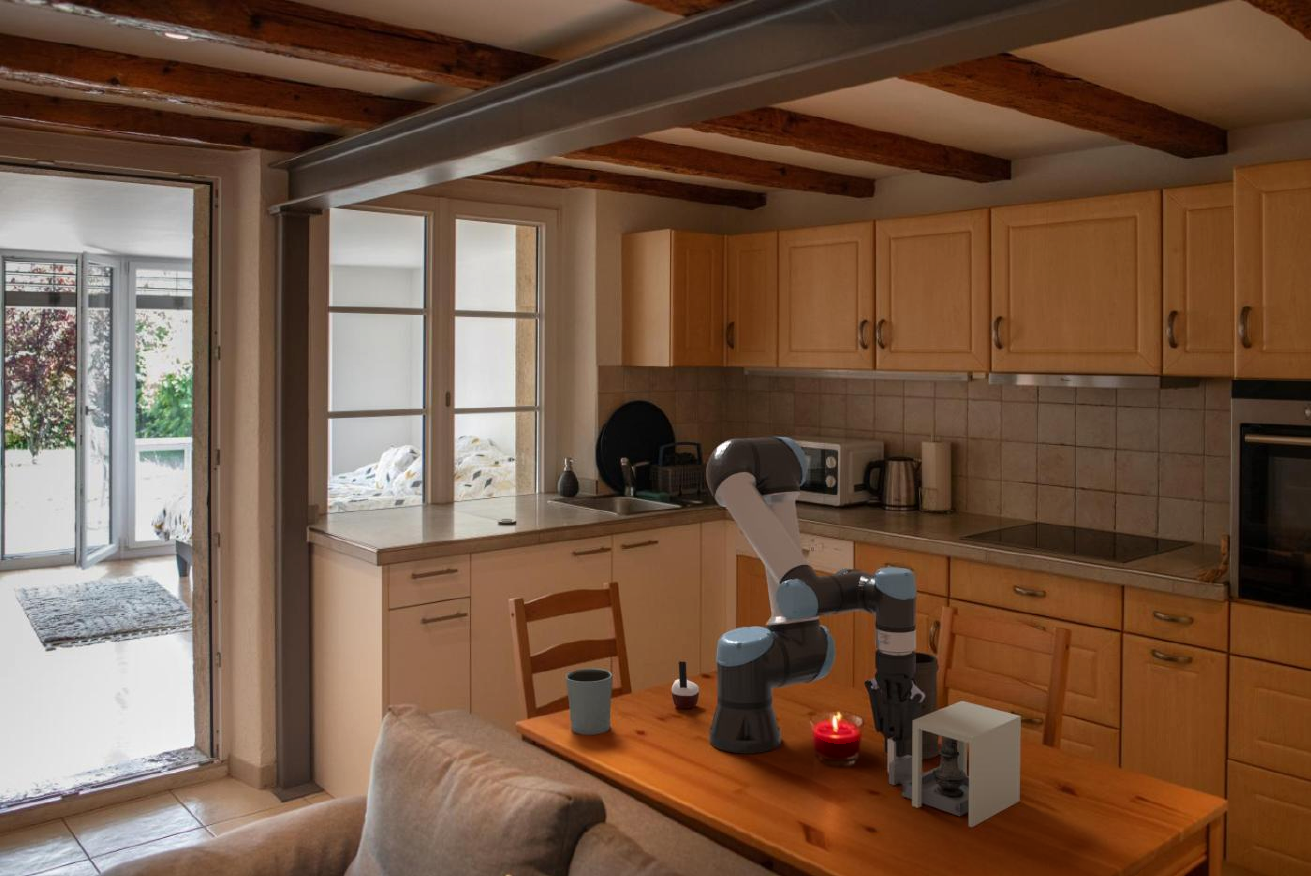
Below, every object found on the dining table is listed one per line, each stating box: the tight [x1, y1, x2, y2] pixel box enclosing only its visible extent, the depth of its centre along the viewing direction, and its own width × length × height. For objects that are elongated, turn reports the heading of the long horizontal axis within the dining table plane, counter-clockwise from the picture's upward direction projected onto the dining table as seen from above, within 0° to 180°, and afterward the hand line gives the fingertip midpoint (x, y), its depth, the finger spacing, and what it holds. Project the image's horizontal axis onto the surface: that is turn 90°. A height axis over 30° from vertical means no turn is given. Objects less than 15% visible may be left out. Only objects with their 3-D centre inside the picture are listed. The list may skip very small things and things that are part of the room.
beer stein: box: [903, 651, 941, 760], centre depth 215 cm, size 15×11×20 cm
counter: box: [911, 700, 1022, 828], centre depth 187 cm, size 12×16×16 cm
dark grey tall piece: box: [933, 735, 966, 798], centre depth 190 cm, size 6×6×12 cm
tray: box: [888, 755, 969, 817], centre depth 192 cm, size 17×12×4 cm
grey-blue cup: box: [565, 668, 613, 736], centre depth 229 cm, size 10×10×12 cm
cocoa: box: [671, 660, 700, 710], centre depth 242 cm, size 10×6×12 cm, turn 149°
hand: (894, 771), depth 199 cm, fingers closed
